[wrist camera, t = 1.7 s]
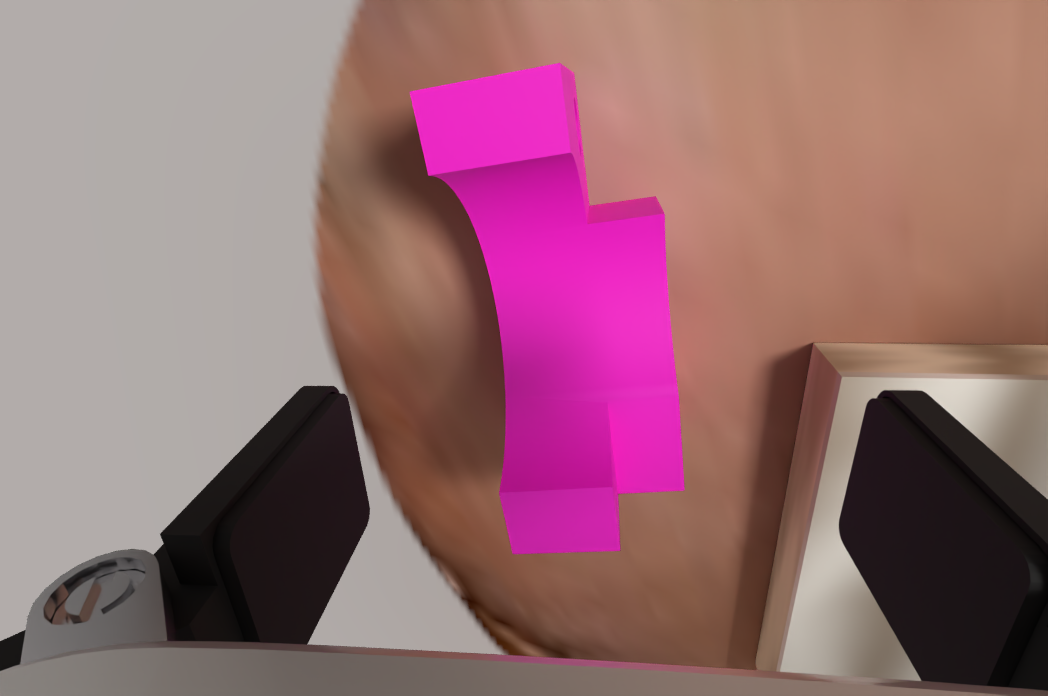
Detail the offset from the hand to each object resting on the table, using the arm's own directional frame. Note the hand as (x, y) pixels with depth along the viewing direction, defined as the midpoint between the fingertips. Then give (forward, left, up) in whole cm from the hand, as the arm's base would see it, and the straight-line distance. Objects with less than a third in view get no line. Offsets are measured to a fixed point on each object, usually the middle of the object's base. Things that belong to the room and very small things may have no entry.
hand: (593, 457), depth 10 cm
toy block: (+1, +1, -14) cm, 14 cm away
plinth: (-14, +13, -13) cm, 23 cm away
